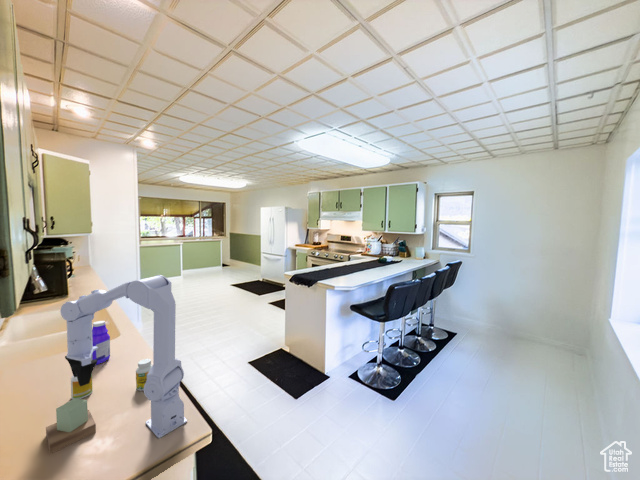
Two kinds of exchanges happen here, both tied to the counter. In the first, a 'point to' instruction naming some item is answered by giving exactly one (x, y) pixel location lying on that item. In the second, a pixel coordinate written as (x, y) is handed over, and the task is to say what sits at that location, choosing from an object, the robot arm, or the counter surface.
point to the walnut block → (68, 434)
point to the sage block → (72, 415)
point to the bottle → (100, 342)
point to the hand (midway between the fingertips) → (81, 379)
